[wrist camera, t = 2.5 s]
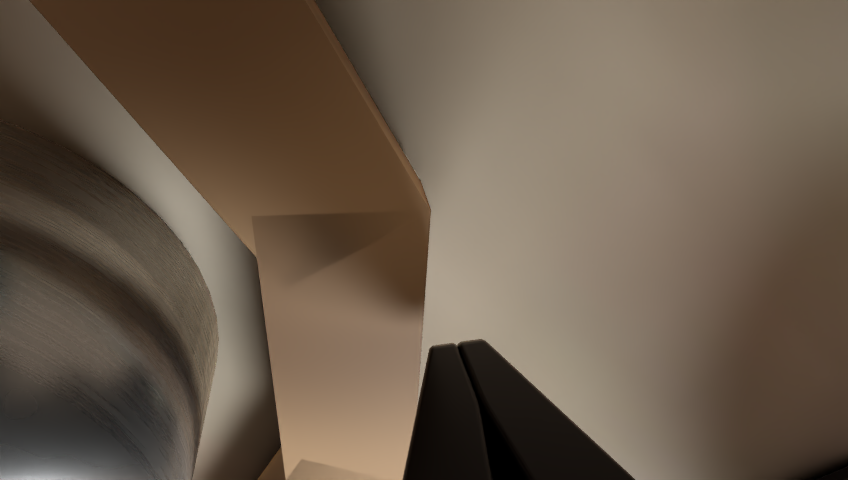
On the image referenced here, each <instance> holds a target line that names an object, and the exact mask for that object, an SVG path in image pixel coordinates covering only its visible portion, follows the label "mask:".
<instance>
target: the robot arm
mask: <svg viewBox="0 0 848 480" xmlns="http://www.w3.org/2000/svg"><path fill="white" fill-rule="evenodd" d="M402 480H635V479H634V478H633V477H632V476H631V475H630V474H629V473H628V472H627V471H626V470H624V469H623V468H622V467H621V466H620V465H619V464H618V463H617V462H616V461H615V460H614V459H613V458H611V457H610V456H609V455H608V454H607V453H606V452H605V451H604V450H603V449H602V448H601V447H600V446H599V445H597V444H596V443H595V442H594V441H593V440H592V439H591V438H590V437H589V436H588V435H587V434H586V433H584V432H583V431H582V430H581V429H580V428H579V427H578V426H577V425H576V424H575V423H574V422H573V421H572V420H570V419H569V418H568V417H567V416H566V415H565V414H564V413H563V412H562V411H561V410H560V409H559V408H557V407H556V406H555V405H554V404H553V403H552V402H551V401H550V400H549V399H548V398H547V397H546V396H545V395H543V394H542V393H541V392H540V391H539V390H538V389H537V388H536V387H535V386H534V385H533V384H532V383H530V382H529V381H528V380H527V379H526V378H525V377H524V376H523V375H522V374H521V373H520V372H519V371H518V370H516V369H515V368H514V367H513V366H512V365H511V364H510V363H509V362H508V361H507V360H506V359H505V358H504V357H502V356H501V355H500V354H499V353H498V352H497V351H496V350H495V349H494V348H493V347H492V346H491V345H489V344H488V343H487V342H486V341H485V340H482V339H477V340H470V341H463V342H460V343H459V344H458V345H456V344H454V343H449V344H442V345H435V346H432V347H431V348H430V349H429V353H428V358H427V363H426V368H425V373H424V378H423V382H422V387H421V392H420V397H419V402H418V407H417V412H416V416H415V421H414V426H413V431H412V436H411V441H410V445H409V450H408V455H407V460H406V465H405V470H404V475H403V479H402ZM816 480H848V466H847V467H845V468H843V469H840V470H838V471H835V472H833V473H831V474H828V475H826V476H823V477H821V478H819V479H816Z"/></svg>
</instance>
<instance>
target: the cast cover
mask: <svg viewBox="0 0 848 480" xmlns="http://www.w3.org/2000/svg"><path fill="white" fill-rule="evenodd" d="M218 341H219V337H218V327H217V317H216V313H215V309H214V306H213V302H212V298H211V295H210V292H209V290H208V287H207V285H206V283H205V281H204V279H203V277H202V275H201V272H200V270H199V268H198V267H197V265H196V263H195V262H194V260H193V259H192V257H191V256H190V254H189V253H188V251H187V250H186V248H185V247H184V245H183V244H182V242H181V241H180V240H179V239H178V238H177V236H176V235H175V234H174V233H173V232H172V231H171V229H170V228H169V227H168V226H167V225H166V224H165V222H164V221H163V220H162V219H161V218H160V217H159V216H158V215H157V214H156V213H155V212H154V211H153V210H151V209H150V208H149V207H148V206H147V205H146V204H145V203H144V202H143V201H142V200H141V199H139V198H138V197H137V196H136V195H135V194H134V193H133V192H131V191H130V190H129V189H127V188H126V187H125V186H123V185H122V184H121V183H119V182H118V181H116V180H115V179H114V178H112V177H111V176H110V175H108V174H107V173H106V172H104V171H103V170H101V169H100V168H98V167H96V166H95V165H93V164H91V163H90V162H88V161H86V160H85V159H83V158H81V157H80V156H78V155H76V154H75V153H73V152H71V151H70V150H68V149H66V148H64V147H62V146H60V145H58V144H56V143H54V142H52V141H49V140H47V139H45V138H43V137H41V136H39V135H37V134H35V133H32V132H30V131H28V130H26V129H24V128H21V127H19V126H16V125H13V124H10V123H8V122H5V121H2V120H0V480H192V477H193V472H194V467H195V463H196V458H197V453H198V448H199V443H200V439H201V434H202V429H203V424H204V419H205V415H206V410H207V405H208V400H209V395H210V391H211V386H212V381H213V376H214V371H215V367H216V362H217V353H218Z"/></svg>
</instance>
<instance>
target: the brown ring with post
mask: <svg viewBox="0 0 848 480" xmlns="http://www.w3.org/2000/svg"><path fill="white" fill-rule="evenodd" d="M29 1H30V2H31V3H32V4H33V5H34V6H35V8H36V9H37V10H38V11H39V12H40V13H41V14H42V15H43V17H44V18H45V19H46V20H47V21H48V22H49V23H50V24H51V26H52V27H53V28H54V29H55V30H56V31H57V32H58V34H59V35H60V36H61V37H62V38H63V39H64V40H65V41H66V43H67V44H68V45H69V46H70V47H71V48H72V49H73V51H74V52H75V53H76V54H77V55H78V56H79V57H80V58H81V60H82V61H83V62H84V63H85V64H86V65H87V66H88V68H89V69H90V70H91V71H92V72H93V73H94V74H95V75H96V77H97V78H98V79H99V80H100V81H101V82H102V83H103V84H104V86H105V87H106V88H107V89H108V90H109V91H110V92H111V94H112V95H113V96H114V97H115V98H116V99H117V100H118V101H119V103H120V104H121V105H122V106H123V107H124V108H125V109H126V111H127V112H128V113H129V114H130V115H131V116H132V117H133V118H134V120H135V121H136V122H137V123H138V124H139V125H140V126H141V128H142V129H143V130H144V131H145V132H146V133H147V134H148V135H149V137H150V138H151V139H152V140H153V141H154V142H155V143H156V144H157V146H158V147H159V148H160V149H161V150H162V151H163V152H164V154H165V155H166V156H167V157H168V158H169V159H170V160H171V161H172V163H173V164H174V165H175V166H176V167H177V168H178V169H179V171H180V172H181V173H182V174H183V175H184V176H185V177H186V178H187V180H188V181H189V182H190V183H191V184H192V185H193V186H194V188H195V189H196V190H197V191H198V192H199V193H200V194H201V195H202V197H203V198H204V199H205V200H206V201H207V202H208V203H209V204H210V206H211V207H212V208H213V209H214V210H215V211H216V212H217V214H218V215H219V216H220V217H221V218H222V219H223V220H224V221H225V223H226V224H227V225H228V226H229V227H230V228H231V229H232V231H233V232H234V233H235V234H236V235H237V236H238V237H239V238H240V240H241V241H242V242H243V243H244V244H245V245H246V246H247V248H248V249H249V250H250V251H251V252H252V253H253V254H254V255H255V257H256V258H257V263H258V271H259V279H260V286H261V294H262V302H263V309H264V317H265V325H266V332H267V340H268V348H269V355H270V363H271V371H272V378H273V386H274V394H275V401H276V409H277V417H278V424H279V432H280V440H281V448H280V449H279V450H278V452H277V453H276V454H275V456H274V457H273V459H272V460H271V461H270V463H269V464H268V466H267V467H266V468H265V470H264V471H263V472H262V474H261V475H260V477H259V478H258V479H257V480H402V479H403V475H404V470H405V465H406V460H407V455H408V450H409V445H410V441H411V436H412V431H413V426H414V421H415V416H416V412H417V401H418V387H419V373H420V358H421V344H422V330H423V316H424V301H425V287H426V273H427V258H428V244H429V230H430V216H431V209H430V206H429V203H428V201H427V198H426V195H425V192H424V189H423V186H422V184H421V181H420V179H419V178H418V177H417V175H416V173H415V172H414V170H413V168H412V166H411V165H410V163H409V161H408V160H407V158H406V156H405V154H404V153H403V151H402V149H401V148H400V146H399V144H398V142H397V141H396V139H395V137H394V136H393V134H392V132H391V131H390V129H389V127H388V125H387V124H386V122H385V120H384V119H383V117H382V115H381V113H380V112H379V110H378V108H377V107H376V105H375V103H374V101H373V100H372V98H371V96H370V95H369V93H368V91H367V89H366V88H365V86H364V84H363V83H362V81H361V79H360V78H359V76H358V74H357V72H356V71H355V69H354V67H353V66H352V64H351V62H350V60H349V59H348V57H347V55H346V54H345V52H344V50H343V48H342V47H341V45H340V43H339V42H338V40H337V38H336V36H335V35H334V33H333V31H332V30H331V28H330V26H329V25H328V23H327V21H326V19H325V18H324V16H323V14H322V13H321V11H320V9H319V7H318V6H317V4H316V2H315V1H314V0H29Z"/></svg>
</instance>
